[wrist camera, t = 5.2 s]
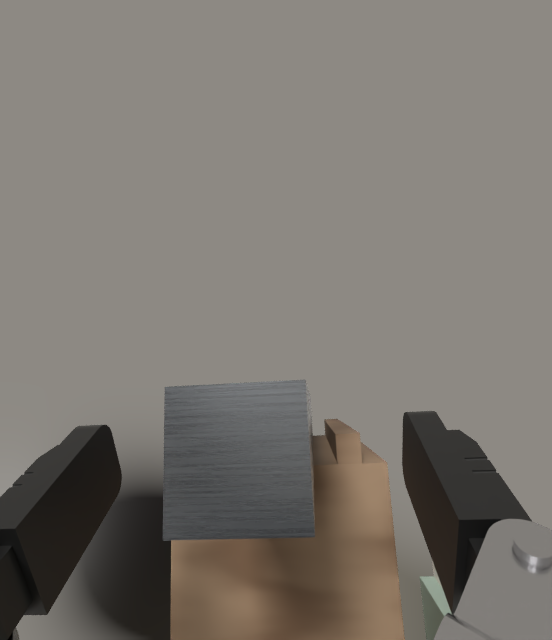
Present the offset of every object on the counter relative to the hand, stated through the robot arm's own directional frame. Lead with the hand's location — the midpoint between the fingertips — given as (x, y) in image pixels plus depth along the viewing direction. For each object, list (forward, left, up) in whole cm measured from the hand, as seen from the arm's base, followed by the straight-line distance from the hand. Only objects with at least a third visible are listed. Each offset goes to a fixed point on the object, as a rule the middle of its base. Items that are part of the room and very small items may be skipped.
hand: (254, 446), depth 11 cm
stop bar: (0, +9, -1) cm, 9 cm away
